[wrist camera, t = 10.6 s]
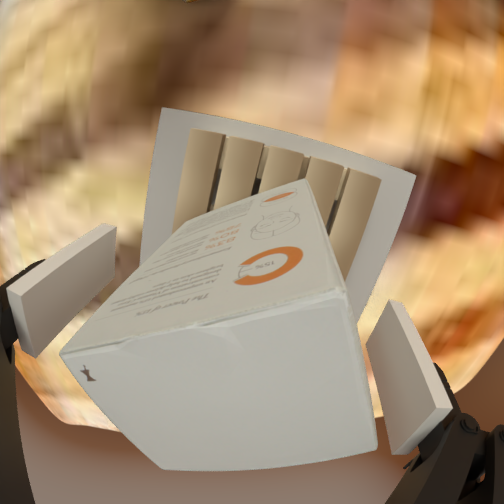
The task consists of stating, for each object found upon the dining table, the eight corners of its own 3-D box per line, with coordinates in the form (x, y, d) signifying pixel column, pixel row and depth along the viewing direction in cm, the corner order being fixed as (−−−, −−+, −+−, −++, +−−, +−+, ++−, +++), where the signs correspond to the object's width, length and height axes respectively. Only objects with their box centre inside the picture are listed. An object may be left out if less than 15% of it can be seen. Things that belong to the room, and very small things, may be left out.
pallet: (172, 282, 24) (161, 298, 22) (199, 127, 19) (187, 127, 17) (319, 322, 24) (321, 342, 21) (374, 174, 19) (384, 180, 17)
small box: (223, 304, 21) (159, 472, 9) (183, 220, 19) (50, 351, 7) (338, 271, 19) (381, 453, 7) (308, 175, 17) (345, 281, 5)
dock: (152, 267, 27) (135, 286, 24) (177, 109, 22) (158, 106, 18) (344, 319, 27) (349, 344, 23) (402, 169, 21) (419, 176, 18)
